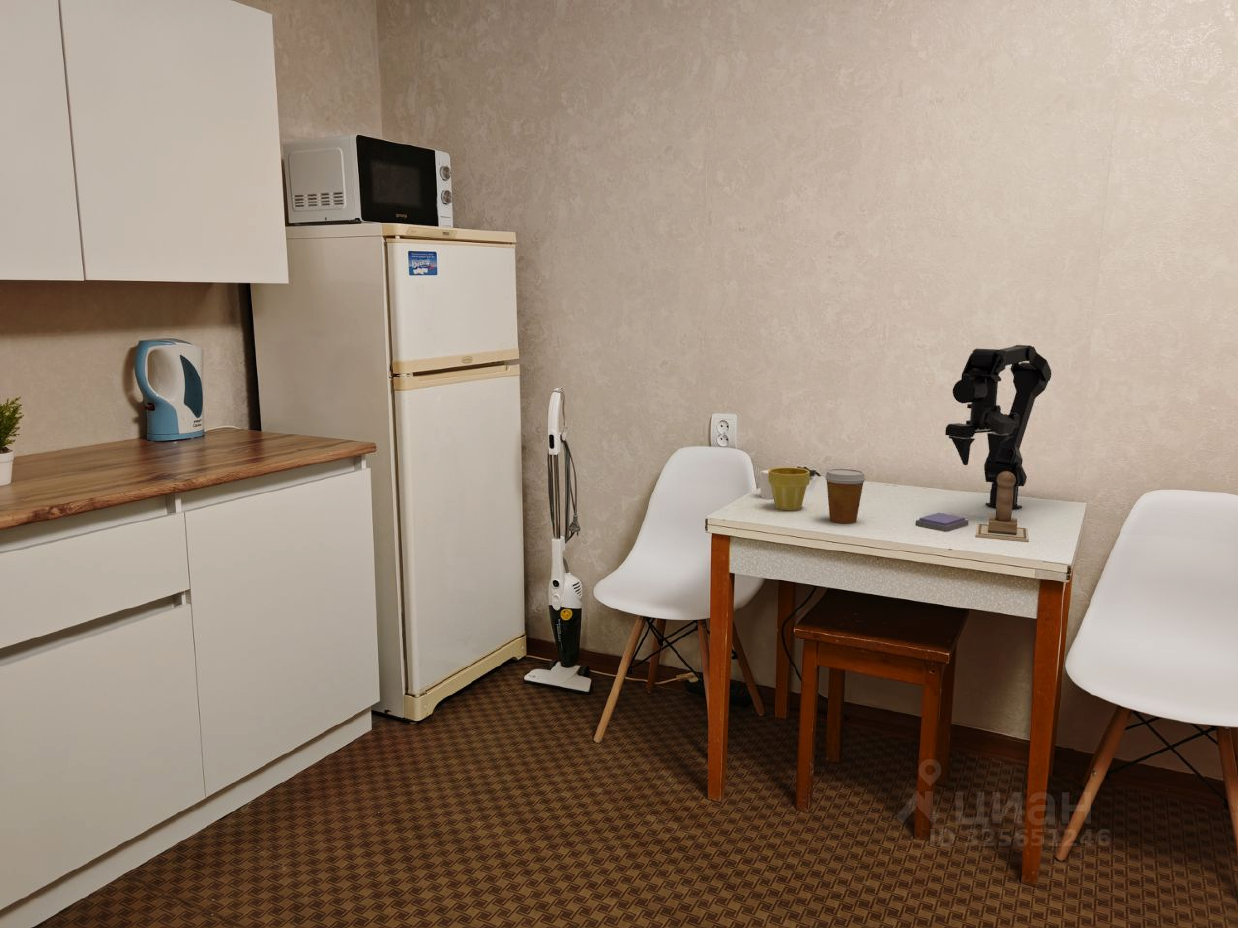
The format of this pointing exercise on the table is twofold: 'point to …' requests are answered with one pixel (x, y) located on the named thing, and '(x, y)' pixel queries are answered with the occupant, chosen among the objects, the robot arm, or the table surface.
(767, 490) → the white cube
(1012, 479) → the stamp
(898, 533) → the table surface
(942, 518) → the ink pad
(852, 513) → the disposable coffee cup
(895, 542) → the table surface
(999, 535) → the beige square tile
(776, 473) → the plant pot
